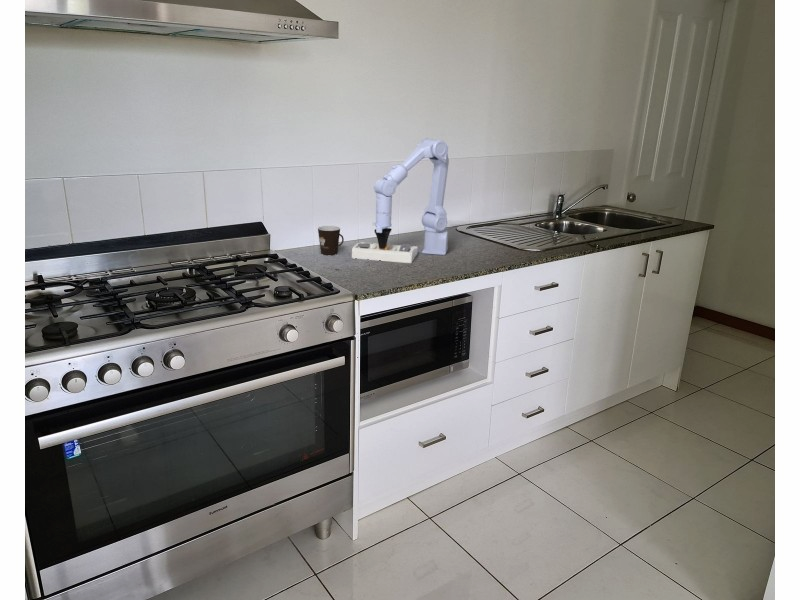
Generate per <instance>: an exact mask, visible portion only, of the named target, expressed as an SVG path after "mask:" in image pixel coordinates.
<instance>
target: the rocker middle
mask: <svg viewBox="0 0 800 600" xmlns="http://www.w3.org/2000/svg"><path fill="white" fill-rule="evenodd" d="M389 244H390V243H387V245H386V246H385V249H383V250H388V248H390V245H389ZM378 249H381V248H379V246H378Z"/></svg>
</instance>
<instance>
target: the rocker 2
mask: <svg viewBox="0 0 800 600" xmlns="http://www.w3.org/2000/svg"><path fill="white" fill-rule="evenodd" d="M400 245H401V247H400V249H399V251H404V252H408V251H409V248H410V246H411V243H401V244H400Z"/></svg>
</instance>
